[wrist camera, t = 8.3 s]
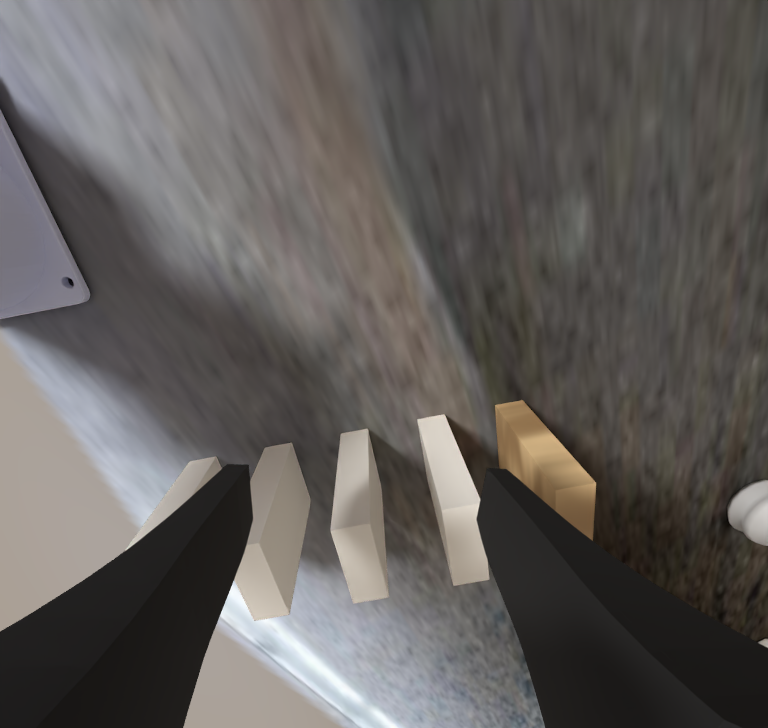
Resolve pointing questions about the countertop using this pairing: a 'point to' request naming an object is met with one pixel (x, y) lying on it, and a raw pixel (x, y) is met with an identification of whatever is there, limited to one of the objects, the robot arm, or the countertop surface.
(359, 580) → the domino
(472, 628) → the countertop surface
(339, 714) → the countertop surface
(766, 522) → the rook chess piece
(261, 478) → the domino
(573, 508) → the ochre domino
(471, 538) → the domino
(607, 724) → the robot arm
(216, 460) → the domino
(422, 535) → the countertop surface
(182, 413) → the countertop surface
